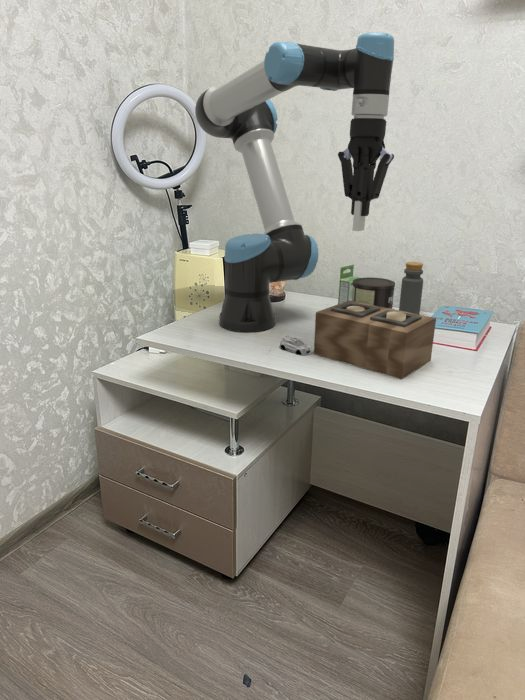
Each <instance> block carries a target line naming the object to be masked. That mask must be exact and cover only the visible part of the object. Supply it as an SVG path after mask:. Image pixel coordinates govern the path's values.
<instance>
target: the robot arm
mask: <svg viewBox="0 0 525 700" xmlns="http://www.w3.org/2000/svg"><path fill="white" fill-rule="evenodd" d="M394 51H395V38H394V36H393V35H392V34H390V33H387V32H380V31H379V32H378V31H377V32H375V31H374V32H373V31H372V32H365V33H362V34H360V35H359V36H358V38H357V42H356V45H355V48H350V49H344V50H341V49H340V50H339V49H333V48H325V47H320V46H312V45H308V44H303V43H296V42H294V41H276V42H273V43H272V44H271V45H269V48H268V50H267V51H266V53H265V55H264V60H263V61H261V62H259V63H258V64H256V65H254V66H253V67H251V68H249V69H248V70H246V71H245V72H243V73H241V74H239V75H238V76H235V77H234V78H233V79H230V81H228V82H227V83H225V84H223V85H222V86H221V85H214V86H211V87H210V88H208V89H206V90H205V91H203V93H201V94H200V95H199V97H198V98H197V99H196V100H197V101H196V103H195V106H194V108H195V109H194V110H195V112H194V113H195V119H196V121H197V123H198V125H199V127H200V128H201V129H202V130H203V132H205V133H206V134H207V135H210V137H211V136H212V137H215V138H219V139H231V141H232V143H233V147H234V149H235V151H237V152H238V153H241V155H242V159H243V162H244V165H245V169H246V172H247V175H248V177H249V179H248V180H249V182H250V185H251V189H252V192H253V195H254V198H255V202H256V205H257V209H258V212H259V215H260V218H261V222H262V225H263V229H264V232H263V233H252V234H251V233H247V234H246V233H245V234H240V235H237V236H233V237H232V238H229V239H228V240H227V241H226V243H225V246H224V247H225V248H224V255H223V256H224V257H223V259H224V277H225V279H224V280H225V281H224V283H225V286H224V287H225V290H224V291H225V295H224V299H223V303H222V307H221V312H220V313H219V316H218V317H219V319H218V321H219V326H220V327H221V328H223V329H225V330H229V331H234V332H241V333H242V332H243V333H246V332H247V333H249V332H250V333H251V332H252V333H253V332H255V333H256V332H260V331H261V332H262V331H266V330H270V329H272V328H273V327H275V325H276V314H275V312H274V309H273V304H272V301H271V297H270V284H271V283H278V282H286V281H291V280H293V281H297V280H299V279H304V278H307V277H309V276H310V275H311V274H312V273H313V272H314V270H315V269H316V268H317V263H318V261H319V247H318V243H317V240H315V238H314V237H312V236H311V235H309V234H305V233H304V228H303V225H302V224H300V223H298V222H296V221H295V219H294V218H295V217H294V214H293V211H292V209H291V205H290V202H289V199H288V198H289V197H288V196H287V191H286V188H285V185H284V182H283V178H282V175H281V172H280V169H279V165H278V161H277V158H276V156H275V155H276V154H275V152H274V149H273V146H272V142H273V140H274V139H275V134H276V131H277V128H278V122H277V121H278V112H277V109H276V107H275V105H274V103H273V102H272V100H271V99H272V98H274V97H276V96H278V95H280V94H282V93H284V92H286V91H289V90H291V89H293V88H295V87H300V86H302V87H310V88H319V89H320V90H323V91H333V92H335V91H340V90H347V89H353V91H352V105H351V116H353V118H352V119H351V120H350V126H349V138H350V139H349V143H348V145H347V148H345V149H344V150H343V151H339V152H337V153H338V154H337V157H338V159H339V161H340V165H341V174H342V183H343V191H344V192H343V193H344V197H346V198H347V197H348V198H349V199H351V210H350V214H351V216H353V218H352V220H353V221H352V229H351V230H352V231H353V232H362V231H365V226H366V224H365V223H366V217H369V215H370V214H369V213H370V205H371V201H372V200H376V199H378V198H379V197H380V195H381V191H382V188H383V184H384V181H385V178H386V175H387V172H388V169H389V166H390V164H391V162H392V161H393V159H395V154H394V153H390V152H389V151H387V150H386V144H385V142H384V141H385V136H386V130H387V121H386V119H385V117H387V116H388V112H389V111H388V110H389V99H390V89H391V80H392V73H393V65H394V60H395V55H394V53H395V52H394ZM351 158H352V159H351ZM378 159H379V162H378V164H377V161H378ZM352 161H353V162H352ZM376 166H377V168H376ZM375 170H376V171H375Z"/></svg>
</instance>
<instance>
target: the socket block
mask: <svg viewBox="0 0 525 700" xmlns="http://www.w3.org/2000/svg"><path fill="white" fill-rule="evenodd" d="M392 311H396V312H402V313H405V314H406V320H404V321H402V322H401V321H396V320H392V319H387V318H386V317H387V313H388V312H392ZM436 321H437V317H432V316H427V315H424V314H414V313H409V312H404V311H399V309H394V308H392V309H389V308H384V307H379V306H375V305H370V304H365V303H360V302H355V301H350V300H349V301H346V302H343V303H340V304H338V303H337V304H335V305H332V306H329V307H327V308H324V309H320V310H318V311H315V322H314V323H315V324H314V325H315V326H314V345H313V347H314V348H313V355H316V356H320V357H323V358H327V359H330V360H334V361H337V362H340V363H344V364H347V365H351V366H354V367H358V368H362V369H364V370H365V369H366V370H369V371H372V372H375V373H378V374H383V375H386V376H390V377H393V378H396V379H400V380H403V379H405V378H406V377H409V375H410V374H413V373H414V372H416V371H417V370H419V369H421V368H422V367H423V366H425V365H427V364H428V363H430V362H431V360H432V352H433V348H434V347H433V345H434V338H435V330H436Z"/></svg>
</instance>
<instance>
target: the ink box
mask: <svg viewBox="0 0 525 700" xmlns="http://www.w3.org/2000/svg"><path fill="white" fill-rule="evenodd" d="M354 266H355V264H351V265H350V264H349V265H346V266H342V267H340V270H339V281H338V282H339V283H338V284H339V286H338V297H337V298H338V300H337V305H338V304H340V303H343V302H346V301H349V300H350V301H352V292H353V280H354V279H357V278H361V277H359V276H354ZM346 270H350V271H348V272H345V271H346ZM344 272H345V273H344Z"/></svg>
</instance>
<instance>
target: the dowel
mask: <svg viewBox="0 0 525 700" xmlns="http://www.w3.org/2000/svg"><path fill="white" fill-rule="evenodd" d="M386 318H387V319H392V320H396V321H401V322H402V321H404V320H406V314H405V313H402V312H396V311H392V312H388V313H387V317H386Z"/></svg>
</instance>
